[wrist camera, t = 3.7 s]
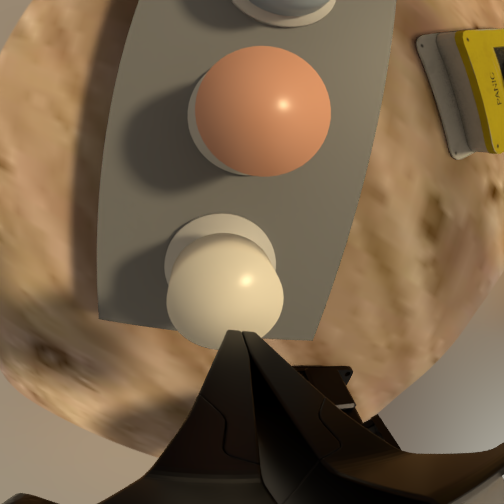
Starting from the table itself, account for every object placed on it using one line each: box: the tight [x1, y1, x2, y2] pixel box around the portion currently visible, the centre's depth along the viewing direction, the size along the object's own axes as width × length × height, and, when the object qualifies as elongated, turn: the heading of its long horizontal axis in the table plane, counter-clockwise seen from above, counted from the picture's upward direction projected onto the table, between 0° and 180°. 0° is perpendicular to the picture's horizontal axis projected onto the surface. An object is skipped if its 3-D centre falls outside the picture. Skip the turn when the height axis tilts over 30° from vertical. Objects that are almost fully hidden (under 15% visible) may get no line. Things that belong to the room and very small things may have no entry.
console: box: [97, 0, 396, 341], centre depth 13 cm, size 22×12×3 cm, turn 168°
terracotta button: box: [195, 46, 331, 177], centre depth 10 cm, size 4×4×2 cm
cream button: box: [166, 233, 284, 350], centre depth 12 cm, size 4×4×2 cm
